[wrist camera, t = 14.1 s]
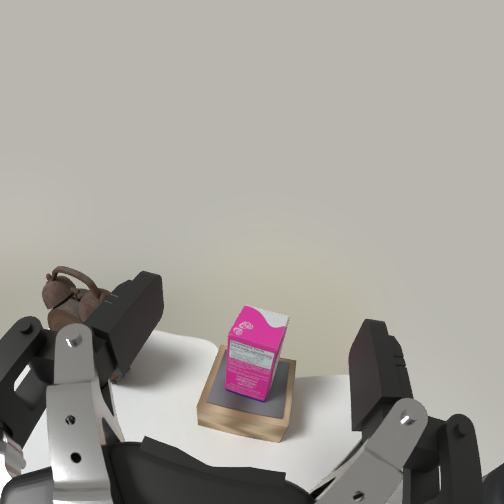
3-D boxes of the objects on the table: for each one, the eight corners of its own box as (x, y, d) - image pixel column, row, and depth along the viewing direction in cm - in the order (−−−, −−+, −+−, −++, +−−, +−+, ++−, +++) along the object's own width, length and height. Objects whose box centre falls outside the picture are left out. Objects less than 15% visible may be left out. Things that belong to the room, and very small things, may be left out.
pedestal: (288, 382, 43) (296, 359, 40) (279, 442, 33) (288, 425, 30) (219, 367, 45) (220, 342, 42) (198, 424, 34) (196, 404, 31)
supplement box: (237, 361, 39) (245, 302, 33) (275, 373, 37) (293, 316, 32) (222, 390, 34) (227, 332, 28) (264, 404, 32) (281, 349, 27)
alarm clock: (147, 366, 42) (129, 267, 33) (128, 397, 36) (95, 300, 26) (83, 339, 44) (55, 246, 34) (62, 364, 37) (23, 269, 28)
